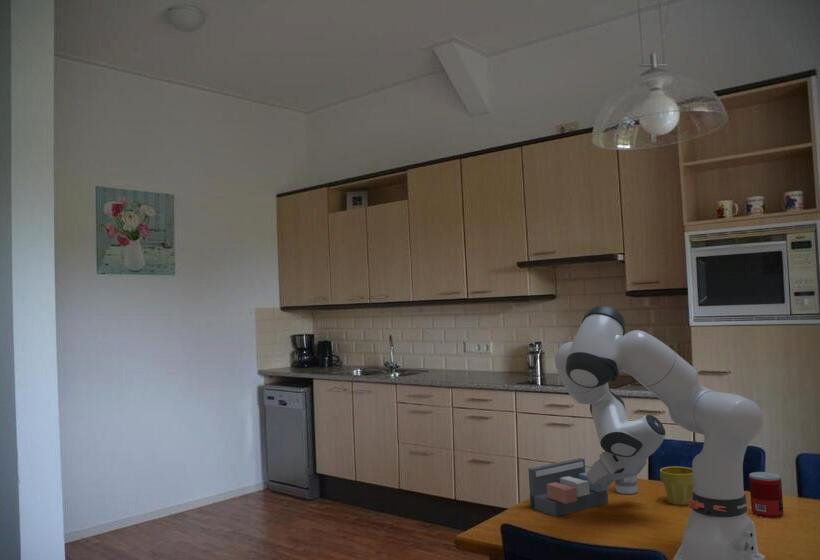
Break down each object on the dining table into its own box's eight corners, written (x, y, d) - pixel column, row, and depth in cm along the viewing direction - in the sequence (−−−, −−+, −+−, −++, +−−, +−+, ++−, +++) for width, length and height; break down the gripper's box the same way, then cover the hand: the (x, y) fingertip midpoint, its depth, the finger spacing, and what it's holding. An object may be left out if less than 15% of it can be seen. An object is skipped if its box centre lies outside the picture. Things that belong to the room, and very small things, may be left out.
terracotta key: (577, 501, 192) (576, 487, 192) (565, 504, 190) (564, 490, 190) (557, 495, 199) (556, 481, 199) (546, 498, 197) (545, 484, 197)
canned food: (787, 518, 182) (784, 478, 182) (756, 518, 183) (753, 478, 184) (778, 510, 189) (775, 471, 190) (748, 509, 191) (745, 471, 191)
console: (608, 502, 204) (605, 463, 204) (555, 516, 192) (553, 475, 193) (582, 495, 213) (580, 458, 214) (530, 508, 202) (528, 468, 202)
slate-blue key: (608, 489, 203) (607, 476, 203) (597, 492, 200) (596, 479, 201) (588, 484, 210) (587, 471, 210) (577, 487, 207) (577, 474, 208)
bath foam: (616, 488, 219) (612, 428, 220) (638, 489, 217) (634, 428, 218) (615, 494, 213) (611, 431, 214) (637, 495, 210) (633, 432, 212)
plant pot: (657, 504, 200) (655, 471, 201) (667, 495, 208) (665, 464, 209) (693, 509, 194) (691, 475, 194) (701, 500, 202) (699, 468, 203)
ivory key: (589, 494, 199) (588, 481, 199) (578, 497, 196) (577, 483, 196) (570, 488, 206) (569, 475, 206) (559, 491, 203) (558, 478, 203)
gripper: (644, 444, 201) (621, 470, 208) (596, 453, 190) (574, 481, 198) (657, 461, 197) (633, 487, 204) (609, 472, 186) (586, 499, 194)
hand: (603, 484), depth 201 cm, fingers closed, pressing on slate-blue key
